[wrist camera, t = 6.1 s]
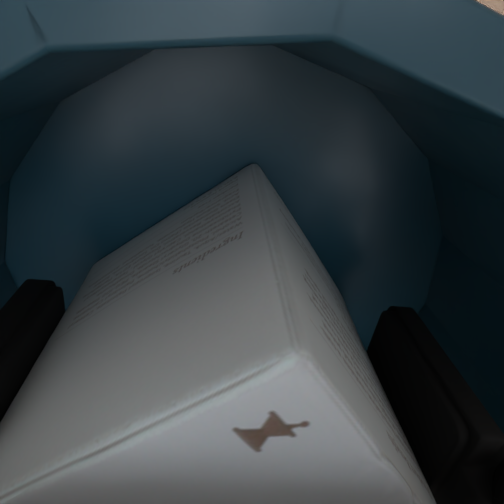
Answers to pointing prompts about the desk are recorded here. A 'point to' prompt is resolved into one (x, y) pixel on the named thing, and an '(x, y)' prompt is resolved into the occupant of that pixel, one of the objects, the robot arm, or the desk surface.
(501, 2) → the desk surface
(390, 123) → the pot
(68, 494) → the product box
